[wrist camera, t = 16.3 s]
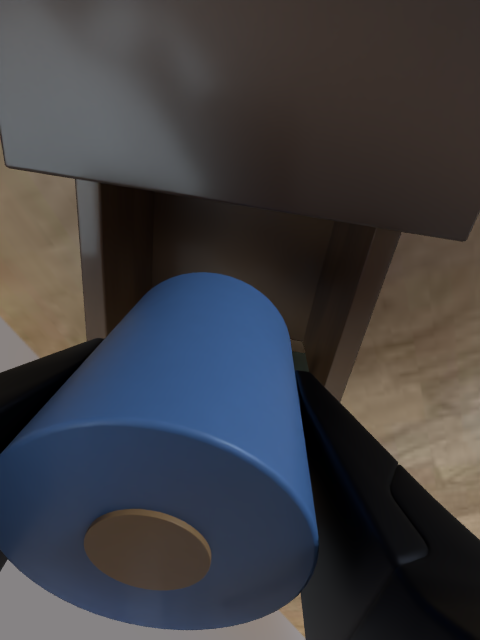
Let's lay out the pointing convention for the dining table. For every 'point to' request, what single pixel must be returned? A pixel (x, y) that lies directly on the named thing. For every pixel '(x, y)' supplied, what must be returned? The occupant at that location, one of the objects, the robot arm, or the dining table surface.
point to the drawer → (235, 265)
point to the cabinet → (254, 103)
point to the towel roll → (170, 467)
